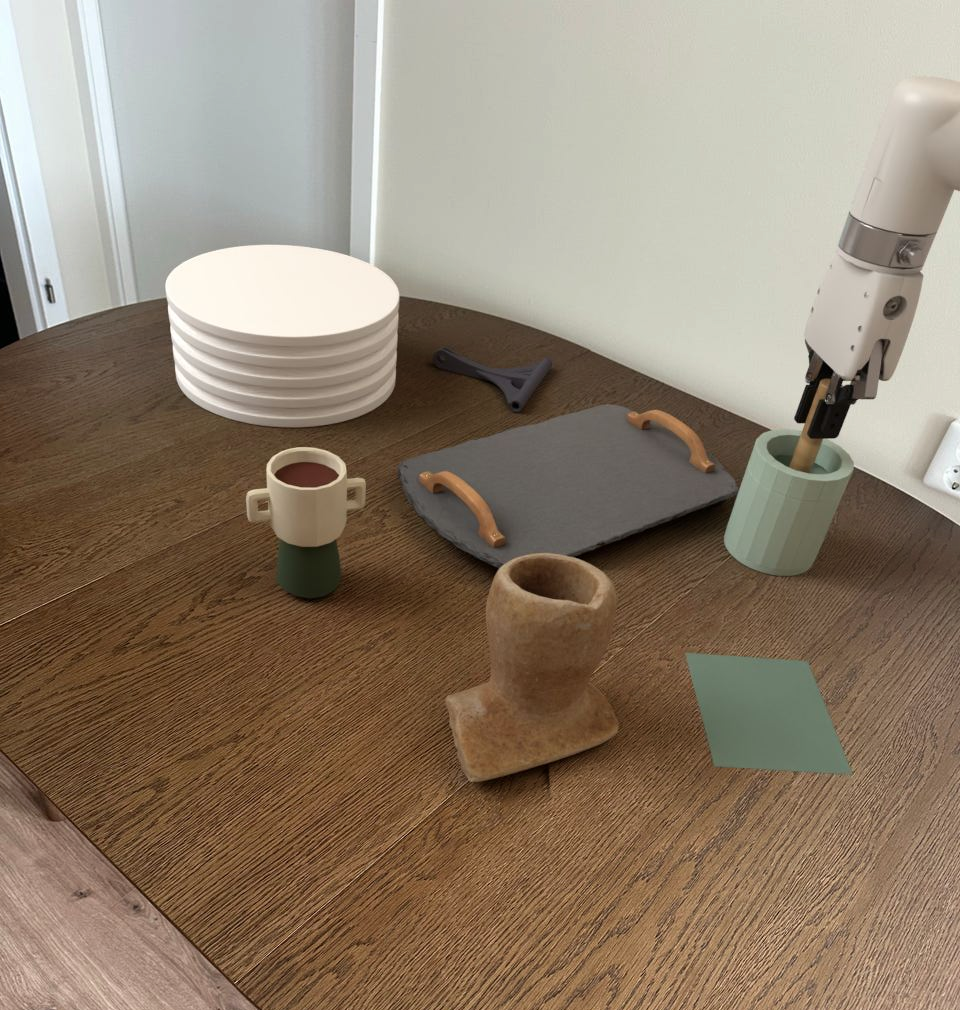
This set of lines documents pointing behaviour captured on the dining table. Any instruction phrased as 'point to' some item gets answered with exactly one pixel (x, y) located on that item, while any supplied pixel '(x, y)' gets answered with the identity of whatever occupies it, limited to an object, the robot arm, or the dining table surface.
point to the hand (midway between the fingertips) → (815, 428)
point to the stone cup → (538, 669)
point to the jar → (785, 505)
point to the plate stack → (283, 334)
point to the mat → (765, 715)
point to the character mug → (307, 516)
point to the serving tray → (564, 483)
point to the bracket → (498, 375)
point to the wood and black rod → (806, 445)
